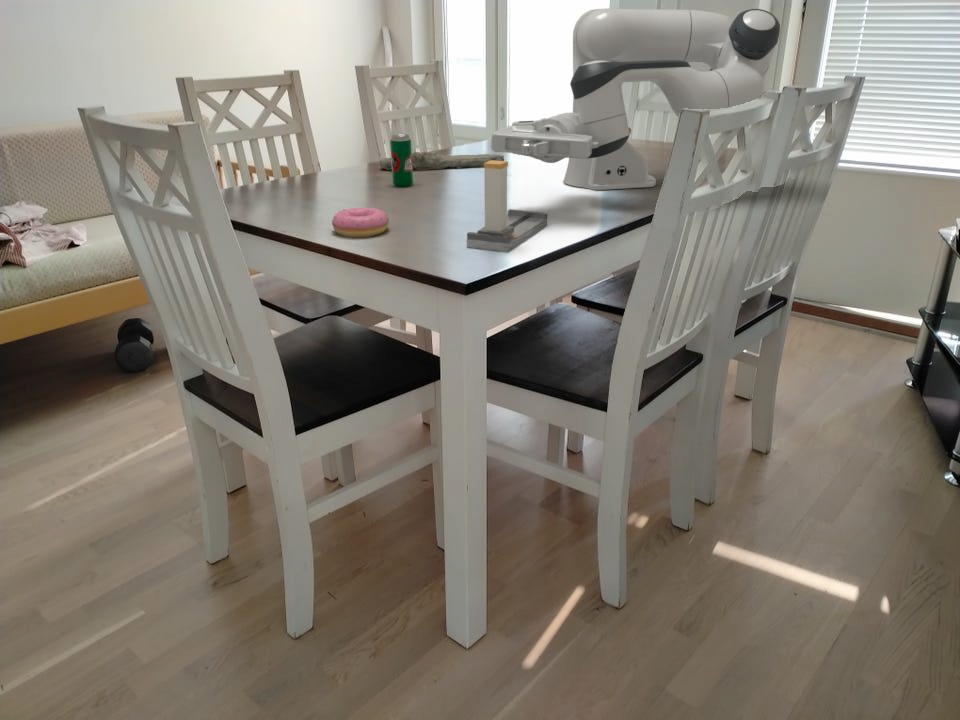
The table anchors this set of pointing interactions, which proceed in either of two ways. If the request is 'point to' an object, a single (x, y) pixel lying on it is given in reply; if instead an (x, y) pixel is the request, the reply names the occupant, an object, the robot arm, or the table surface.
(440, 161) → the elongated rock
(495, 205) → the fader tab
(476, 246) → the fader rail
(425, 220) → the table surface
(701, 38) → the robot arm
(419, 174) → the table surface
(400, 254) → the table surface
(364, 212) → the doughnut
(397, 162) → the soda can
